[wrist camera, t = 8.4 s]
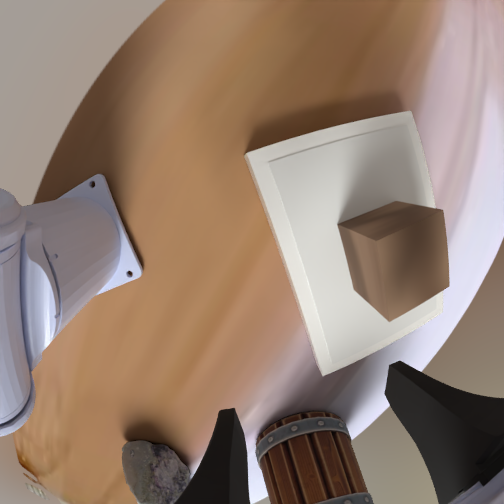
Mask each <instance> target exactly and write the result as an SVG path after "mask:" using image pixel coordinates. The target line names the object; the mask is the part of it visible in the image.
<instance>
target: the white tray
mask: <svg viewBox="0 0 504 504" xmlns="http://www.w3.org/2000/svg"><path fill="white" fill-rule="evenodd" d="M244 157H245V160H246V162H247V165H248V168H249V170H250V173H251V176H252V178H253V181H254V184H255V186H256V189H257V192H258V195H259V197H260V200H261V203H262V205H263V208H264V211H265V214H266V217H267V219H268V222H269V225H270V228H271V230H272V233H273V236H274V239H275V242H276V245H277V247H278V250H279V253H280V256H281V259H282V262H283V265H284V268H285V270H286V273H287V276H288V279H289V282H290V285H291V288H292V291H293V294H294V297H295V300H296V303H297V306H298V309H299V312H300V315H301V318H302V321H303V324H304V327H305V330H306V333H307V336H308V339H309V343H310V346H311V349H312V352H313V355H314V358H315V361H316V364H317V366H318V368H319V370H320V372H321V374H322V376H325V375H327V374H330V373H332V372H334V371H337V370H339V369H341V368H343V367H345V366H348V365H350V364H352V363H354V362H356V361H358V360H360V359H362V358H364V357H366V356H368V355H370V354H372V353H374V352H376V351H378V350H380V349H382V348H384V347H386V346H388V345H389V344H391V343H393V342H395V341H397V340H399V339H400V338H402V337H404V336H406V335H407V334H409V333H411V332H412V331H414V330H416V329H417V328H419V327H421V326H422V325H424V324H425V323H427V322H429V321H430V320H432V319H433V318H435V317H436V316H438V315H439V314H441V313H442V312H443V291H441V292H440V293H438V294H437V295H435V296H433V297H432V298H430V299H429V300H427V301H425V302H424V303H422V304H420V305H419V306H417V307H415V308H414V309H412V310H410V311H409V312H407V313H405V314H403V315H402V316H400V317H398V318H396V319H394V320H392V321H391V322H388V321H387V320H386V319H385V318H384V317H383V316H382V315H381V314H380V313H379V312H378V311H377V310H375V309H374V308H373V307H372V306H371V305H370V304H369V303H368V302H367V301H366V300H364V299H363V298H362V297H361V296H360V295H359V294H358V293H357V292H356V291H354V289H353V285H352V280H351V276H350V272H349V268H348V264H347V260H346V256H345V252H344V248H343V244H342V240H341V237H340V233H339V229H338V226H337V224H339V223H341V222H344V221H346V220H349V219H352V218H354V217H357V216H359V215H362V214H364V213H367V212H369V211H372V210H374V209H377V208H379V207H382V206H384V205H387V204H389V203H392V202H394V201H400V202H405V203H411V204H416V205H421V206H426V207H431V208H436V207H435V201H434V195H433V190H432V185H431V180H430V176H429V171H428V167H427V163H426V159H425V155H424V151H423V148H422V144H421V140H420V137H419V134H418V130H417V127H416V124H415V121H414V118H413V115H412V112H411V111H405V112H400V113H394V114H389V115H383V116H378V117H373V118H369V119H364V120H360V121H355V122H351V123H347V124H342V125H338V126H334V127H330V128H327V129H323V130H319V131H315V132H312V133H308V134H305V135H301V136H298V137H294V138H291V139H288V140H284V141H281V142H278V143H275V144H272V145H269V146H266V147H263V148H260V149H257V150H254V151H251V152H248V153H246V154H245V156H244Z"/></svg>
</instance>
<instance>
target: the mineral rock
mask: <svg viewBox="0 0 504 504" xmlns="http://www.w3.org/2000/svg"><path fill="white" fill-rule="evenodd" d="M122 451H123V454H122V465H123V470H124V474H125V479H126V483H127V484H128V485H129V487H130V490H131V492H132V493H133V494H134V496H135V497H136V500H137V502H138V504H174V503H175V501H176V500H177V499H178V498H179V497H180V495H181V494H182V493H183V491H184V490H185V488H186V487H187V485H188V484H189V482H190V481H191V479H190V478H189V476H190V473H189V469H188V467H187V466H186V465H184V464H183V463H182V462H181V461H180V459H179V458H178V456H177V455H176V454H175V452H174V451H173V450H171V449H169V448H168V446H165V445H153V444H152V443H150V442H147V441H133V442H127V443H126V444H125V445H124V446H123V448H122Z"/></svg>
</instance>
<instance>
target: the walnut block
mask: <svg viewBox="0 0 504 504" xmlns="http://www.w3.org/2000/svg"><path fill="white" fill-rule="evenodd" d="M337 226H338V229H339V233H340V237H341V240H342V244H343V248H344V252H345V256H346V260H347V264H348V268H349V272H350V276H351V280H352V285H353V289H354V291H356V292H357V293H358V294H359V295H360V296H361V297H362V298H363V299H364V300H366V301H367V302H368V303H369V304H370V305H371V306H372V307H373V308H374V309H375V310H377V311H378V312H379V313H380V314H381V315H382V316H383V317H384V318H385V319H386V320H387V321H388V322H391V321H392V320H394V319H396V318H398V317H400V316H402V315H403V314H405V313H407V312H409V311H410V310H412V309H414V308H415V307H417V306H419V305H420V304H422V303H424V302H425V301H427V300H429V299H430V298H432V297H433V296H435V295H437V294H438V293H440V292H441V291H443V290H444V289H446V288H447V287H449V261H448V247H447V237H446V228H445V220H444V213H443V210H441V209H436V208H431V207H426V206H421V205H416V204H411V203H405V202H400V201H394V202H392V203H389V204H387V205H384V206H382V207H379V208H377V209H374V210H372V211H369V212H367V213H364V214H362V215H359V216H357V217H354V218H352V219H349V220H346V221H344V222H341V223H339V224H337Z"/></svg>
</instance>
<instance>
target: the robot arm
mask: <svg viewBox="0 0 504 504" xmlns="http://www.w3.org/2000/svg"><path fill="white" fill-rule="evenodd" d="M93 181H94V182H95V187H94V188H93V187H92V182H93ZM128 271H131V272H132V273H133V276H131V275H129V274H128ZM142 273H143V269H142V266H141V264H140V262H139V260H138V258H137V255H136V253H135V251H134V249H133V247H132V244H131V242H130V240H129V237H128V235H127V233H126V230H125V228H124V226H123V223H122V221H121V218H120V216H119V213H118V211H117V208H116V206H115V203H114V201H113V198H112V195H111V193H110V190H109V187H108V184H107V182H106V179H105V177H104V175H102V174H97V175H95V176H93V177H91V178H89V179H88V180H86V181H84V182H83V183H81V184H80V185H78V186H76V187H75V188H73V189H72V190H70V191H68V192H67V193H65V194H64V195H62V196H61V197H59V198H58V199H56V200H53V201H47V202H42V203H37V204H32V205H27V206H23V207H22V206H21V205H20V204H19V203H18V202H17V200H16V198H15V197H14V196H13V195H12V194H11V193H9V192H7V191H6V190H4V189H1V188H0V436H3V435H8V434H10V433H12V432H14V431H16V430H17V429H19V428H20V427H21V426H22V425H23V424H24V423H25V422H26V421H27V420H28V418H29V416H30V415H31V413H32V410H33V408H34V404H35V398H36V390H35V384H34V380H33V377H32V373H31V371H33V369H34V368H35V367H36V366H37V364H38V363H39V362H40V361H41V359H42V351H44V350H45V349H46V347H47V346H48V345H49V344H50V343H51V342H52V340H53V339H54V338H55V337H56V336H57V335H58V334H59V333H60V331H61V330H62V329H63V328H64V327H65V326H66V325H67V324H68V323H69V322H70V321H71V320H72V319H73V317H74V316H75V315H76V314H77V313H78V312H79V311H80V310H81V309H82V308H83V307H84V306H85V305H86V304H87V303H88V302H89V301H90V300H91V299H92V298H93V297H94V296H95V295H98V294H100V293H103V292H105V291H107V290H110V289H112V288H115V287H117V286H120V285H122V284H124V283H127V282H129V281H132V280H134V279H137V278H139V277H140V276H141V275H142ZM385 396H386V398H387V400H388V402H389V404H390V406H391V408H392V410H393V411H394V413H395V414H396V416H397V417H398V418H399V420H400V421H401V423H402V424H403V426H404V427H405V429H406V430H407V431H408V433H409V434H410V436H411V437H412V439H413V440H414V442H415V443H416V445H417V447H418V449H419V451H420V453H421V455H422V457H423V459H424V461H425V464H426V466H427V468H428V471H429V473H430V476H431V479H432V481H433V484H434V487H435V491H436V494H437V498H438V502H439V504H504V398H493V397H487V396H481V395H476V394H472V393H469V392H465V391H462V390H459V389H456V388H454V387H451V386H449V385H446V384H444V383H441V382H439V381H437V380H435V379H433V378H431V377H429V376H427V375H425V374H424V373H422V372H420V371H418V370H416V369H414V368H413V367H411V366H409V365H407V364H405V363H403V362H402V361H398V362H396V363H393V364H391V365H389V370H388V377H387V383H386V389H385ZM174 504H250V500H249V488H248V462H247V449H246V442H245V436H244V432H243V429H242V427H241V424H240V421H239V419H238V416H237V413H236V411H235V408H231V409H224V410H220V411H219V413H218V418H217V422H216V425H215V428H214V432H213V435H212V437H211V440H210V443H209V445H208V448H207V450H206V452H205V455H204V457H203V459H202V461H201V463H200V465H199V467H198V469H197V471H196V473H195V474H194V476H193V478H192V479H191V481H190V482H189V484H188V485H187V487H186V488H185V490H184V491H183V493H182V494H181V495H180V497H179V498H178V499H177V500H176V501H175V503H174Z"/></svg>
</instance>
